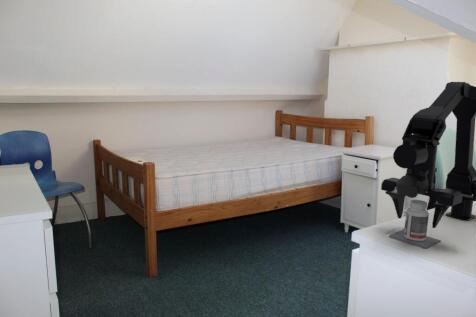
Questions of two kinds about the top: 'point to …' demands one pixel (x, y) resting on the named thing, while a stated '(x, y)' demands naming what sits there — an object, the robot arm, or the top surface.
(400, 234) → the slate mat
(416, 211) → the pill bottle
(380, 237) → the top surface
